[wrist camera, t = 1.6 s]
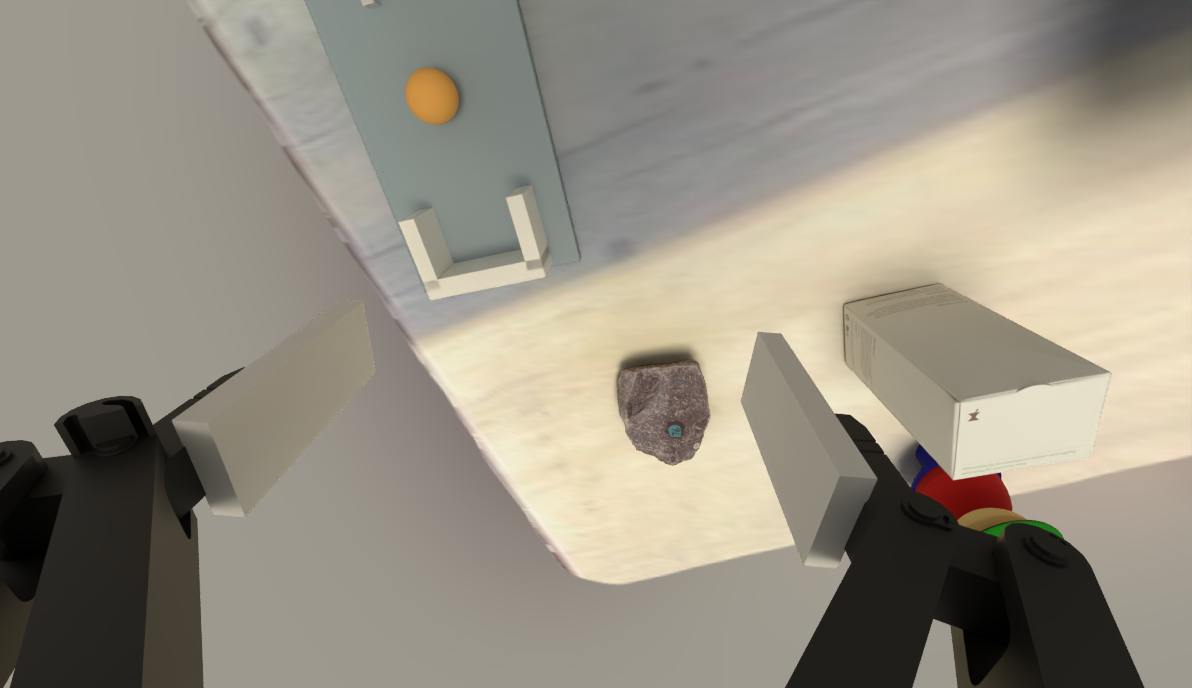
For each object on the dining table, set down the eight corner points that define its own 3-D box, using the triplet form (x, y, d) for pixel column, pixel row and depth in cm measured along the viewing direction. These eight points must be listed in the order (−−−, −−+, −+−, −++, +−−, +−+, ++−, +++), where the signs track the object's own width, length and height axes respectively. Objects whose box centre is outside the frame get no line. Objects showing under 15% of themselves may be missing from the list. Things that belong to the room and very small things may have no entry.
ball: (428, 57, 33) (408, 53, 30) (472, 88, 34) (457, 87, 31) (409, 105, 34) (388, 105, 31) (453, 133, 35) (436, 137, 32)
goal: (419, 210, 38) (398, 222, 34) (531, 184, 37) (522, 194, 33) (447, 282, 41) (430, 300, 37) (552, 260, 39) (545, 277, 36)
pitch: (207, -256, 27) (175, -284, 25) (432, -350, 25) (416, -388, 23) (429, 288, 42) (420, 297, 40) (580, 257, 40) (578, 265, 38)
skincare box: (843, 363, 44) (944, 486, 30) (841, 298, 41) (952, 401, 27) (941, 345, 42) (1095, 465, 28) (946, 276, 39) (1120, 373, 26)
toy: (963, 492, 50) (1086, 635, 37) (877, 498, 51) (967, 639, 38) (982, 424, 46) (1128, 557, 33) (889, 432, 47) (993, 564, 34)
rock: (629, 450, 50) (630, 480, 46) (611, 356, 45) (611, 381, 41) (707, 440, 49) (715, 471, 45) (698, 344, 44) (706, 369, 40)
